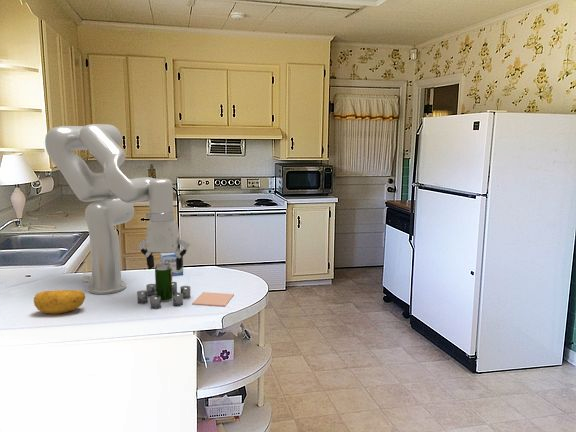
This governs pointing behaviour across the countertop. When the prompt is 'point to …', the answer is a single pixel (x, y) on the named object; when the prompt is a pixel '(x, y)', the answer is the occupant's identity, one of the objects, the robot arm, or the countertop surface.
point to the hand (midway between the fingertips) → (165, 268)
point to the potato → (59, 301)
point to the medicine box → (171, 262)
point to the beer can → (164, 281)
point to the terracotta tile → (213, 299)
